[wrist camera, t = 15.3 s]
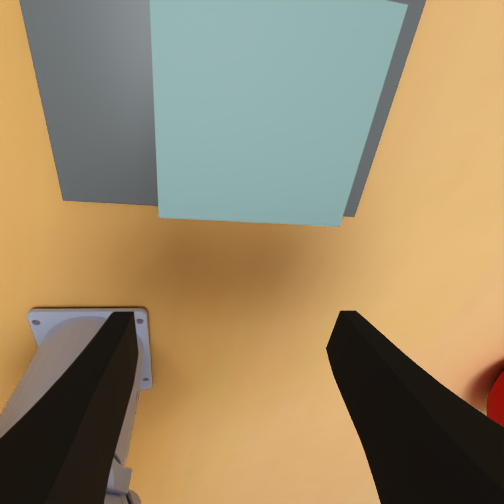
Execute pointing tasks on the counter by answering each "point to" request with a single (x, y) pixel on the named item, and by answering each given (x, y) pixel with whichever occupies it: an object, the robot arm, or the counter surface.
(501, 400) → the tomato
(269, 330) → the counter surface
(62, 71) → the baseplate
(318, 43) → the teal block
